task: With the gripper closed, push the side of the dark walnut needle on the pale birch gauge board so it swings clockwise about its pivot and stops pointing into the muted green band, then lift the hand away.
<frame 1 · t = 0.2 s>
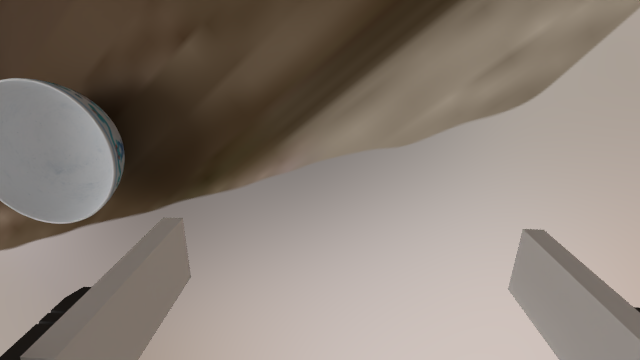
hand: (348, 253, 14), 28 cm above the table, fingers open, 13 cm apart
chinaware: (91, 137, 42), on the table
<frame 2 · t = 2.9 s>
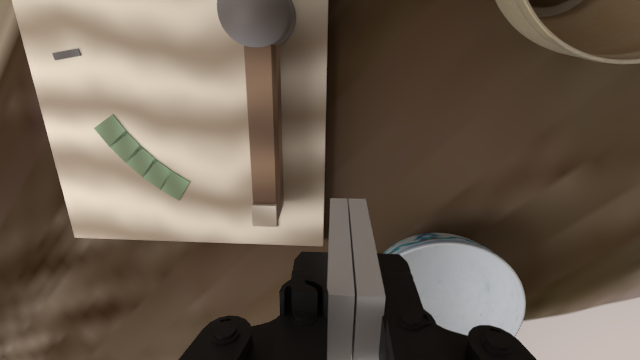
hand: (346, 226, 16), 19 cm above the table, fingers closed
chinaware: (420, 264, 39), on the table
gauge needle: (264, 110, 29), point 5 cm above the table, hinge at 0.0°
gauge board: (271, 18, 31), on the table
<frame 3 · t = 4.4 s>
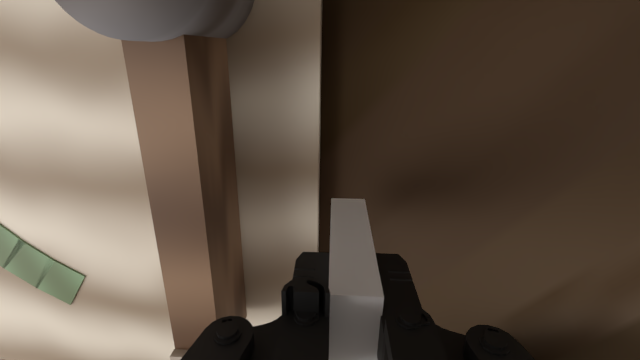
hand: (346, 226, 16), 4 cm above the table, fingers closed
gauge needle: (191, 172, 14), point 5 cm above the table, hinge at 0.0°
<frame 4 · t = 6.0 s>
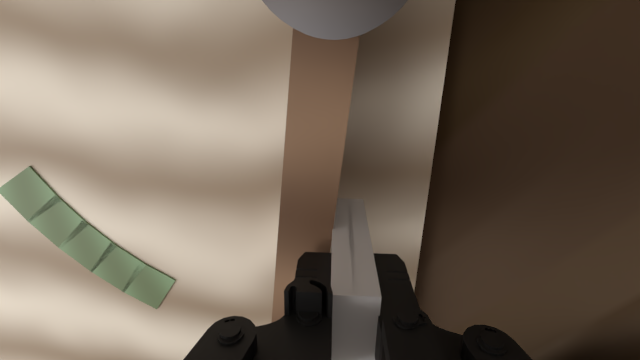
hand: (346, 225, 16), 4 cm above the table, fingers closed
gauge needle: (312, 174, 14), point 5 cm above the table, hinge at -5.0°, touching gripper
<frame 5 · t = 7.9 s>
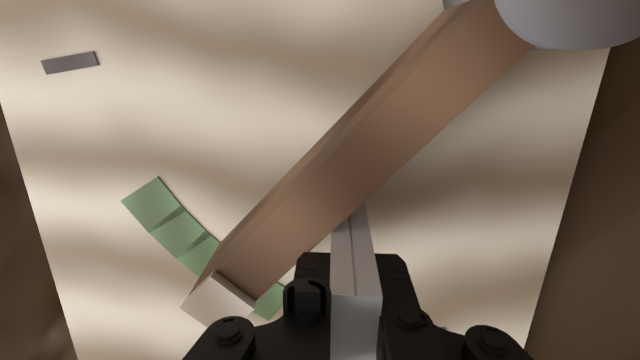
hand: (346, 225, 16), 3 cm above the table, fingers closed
gauge needle: (375, 135, 13), point 5 cm above the table, hinge at -42.2°, touching gripper
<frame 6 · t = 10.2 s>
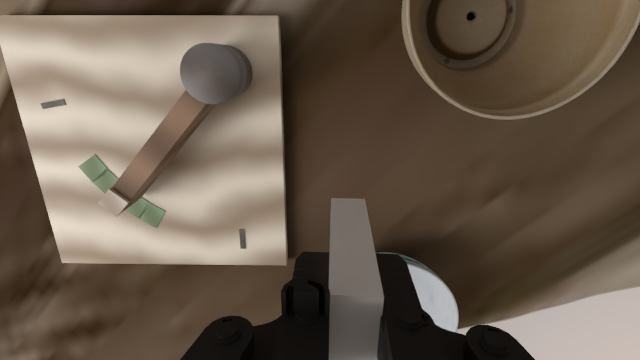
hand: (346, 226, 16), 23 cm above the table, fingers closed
chinaware: (375, 279, 44), on the table
gauge needle: (173, 132, 33), point 5 cm above the table, hinge at -42.2°
gauge board: (232, 71, 35), on the table
planter bowl: (465, 17, 34), on the table
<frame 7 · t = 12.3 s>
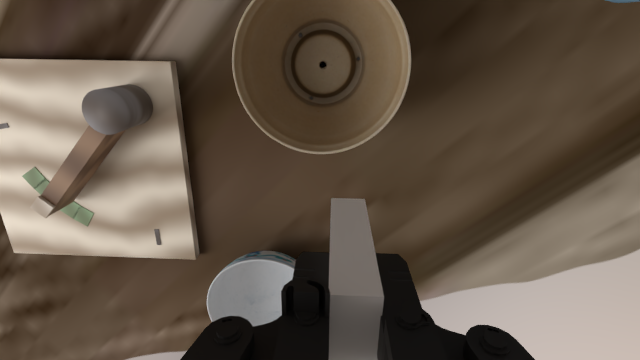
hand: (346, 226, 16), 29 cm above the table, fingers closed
chinaware: (274, 272, 52), on the table
gauge needle: (88, 153, 41), point 5 cm above the table, hinge at -42.2°
gauge board: (141, 102, 44), on the table
planter bowl: (324, 63, 42), on the table
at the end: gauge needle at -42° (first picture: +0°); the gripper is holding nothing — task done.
